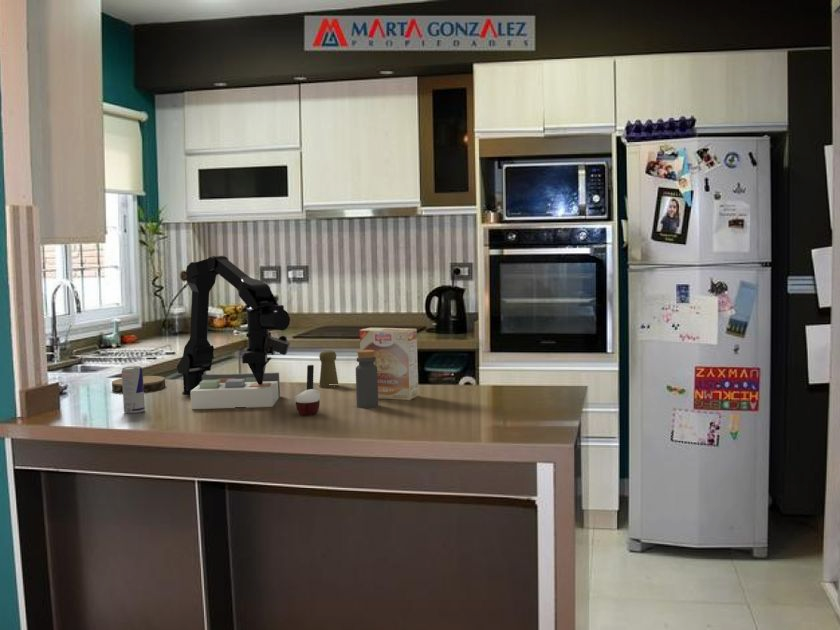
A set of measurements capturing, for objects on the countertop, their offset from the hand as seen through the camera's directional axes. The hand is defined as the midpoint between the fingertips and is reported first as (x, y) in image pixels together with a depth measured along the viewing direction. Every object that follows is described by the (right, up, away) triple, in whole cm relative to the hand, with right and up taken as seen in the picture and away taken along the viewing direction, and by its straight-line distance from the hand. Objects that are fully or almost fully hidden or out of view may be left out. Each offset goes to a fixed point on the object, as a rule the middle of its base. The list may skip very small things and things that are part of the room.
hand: (260, 384), depth 233 cm
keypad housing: (-7, -5, +2) cm, 9 cm away
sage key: (-14, -3, 0) cm, 14 cm away
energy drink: (-33, -7, -7) cm, 34 cm away
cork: (+16, -3, +25) cm, 30 cm away
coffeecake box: (+36, -4, +4) cm, 37 cm away
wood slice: (-44, -4, +29) cm, 53 cm away
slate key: (-7, -3, 0) cm, 8 cm away
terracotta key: (0, -4, 0) cm, 4 cm away
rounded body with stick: (+16, -7, -16) cm, 23 cm away
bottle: (+30, -5, -8) cm, 32 cm away
